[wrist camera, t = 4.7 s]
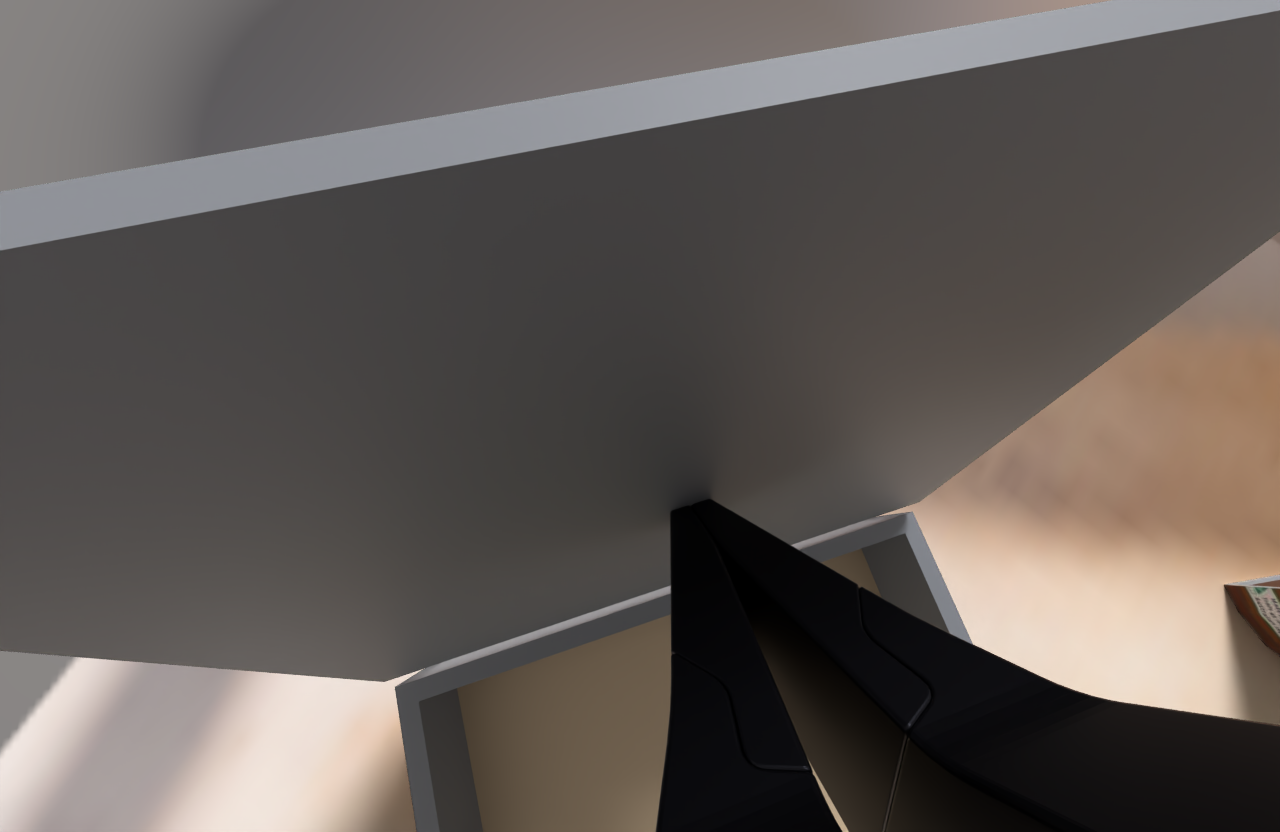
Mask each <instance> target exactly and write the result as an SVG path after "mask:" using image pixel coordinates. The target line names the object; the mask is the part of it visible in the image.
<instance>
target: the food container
mask: <svg viewBox="0 0 1280 832" xmlns="http://www.w3.org/2000/svg"><path fill="white" fill-rule="evenodd" d="M1224 586H1225V588H1226V589H1227V591H1228V593H1229V595H1230V597H1231V599H1232V601H1233V602H1234V604H1235V606H1236V608H1237V610H1238V612H1239V613H1240V614H1241V615H1242V617H1243V618H1244V619H1245V620H1246V622H1247V623H1248V624H1249V625H1250V627H1251V628H1252V629H1253V630H1254V631H1255V633H1256V634H1257V635H1258V636H1259V638H1260V639H1261V640H1262V641H1263V642H1264V644H1265V645H1266V646H1267V647H1269V648H1270V649H1271V650H1272V651H1274V652H1275V653H1276V654H1277V655H1279V656H1280V575H1275V576H1269V577H1264V578H1258V579H1253V580H1247V581H1242V582H1236V583H1231V584H1225V585H1224Z"/></svg>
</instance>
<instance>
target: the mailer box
mask: <svg viewBox="0 0 1280 832" xmlns="http://www.w3.org/2000/svg"><path fill="white" fill-rule="evenodd" d="M791 546H793V547H795V548H797V549H798V550H800V551H802V552H803V553H805V554H807V555H809V556H810V557H812V558H814V559H815V560H817V561H819V562H821V563H822V564H824V565H826V566H827V567H829V568H831V569H833V570H834V571H836V572H838V573H840V574H841V575H843V576H845V577H846V578H848V579H850V580H852V581H853V582H855V583H857V584H858V586H859V588H860V587H864V588H866V589H867V590H869V591H871V592H873V593H874V594H876V595H878V596H879V597H881V598H883V599H885V600H887V601H888V602H890V603H892V604H894V605H896V606H897V607H899V608H901V609H903V610H905V611H906V612H908V613H910V614H912V615H914V616H916V617H918V618H920V619H922V620H924V621H926V622H928V623H930V624H932V625H934V626H936V627H938V628H940V629H942V630H944V631H946V632H948V633H950V634H952V635H954V636H956V637H958V638H960V639H963V640H965V641H967V642H969V643H971V644H972V641H971V639H970V637H969V635H968V633H967V630H966V628H965V626H964V624H963V622H962V619H961V617H960V615H959V613H958V611H957V608H956V606H955V604H954V602H953V600H952V597H951V595H950V593H949V591H948V589H947V586H946V584H945V582H944V580H943V578H942V575H941V573H940V571H939V569H938V567H937V564H936V562H935V560H934V558H933V555H932V553H931V551H930V549H929V547H928V544H927V542H926V540H925V538H924V536H923V533H922V531H921V529H920V527H919V525H918V522H917V520H916V518H915V516H914V514H913V512H907V513H899V514H892V515H885V516H878V517H873V518H870V519H867V520H864V521H861V522H858V523H855V524H852V525H849V526H846V527H843V528H840V529H837V530H834V531H831V532H828V533H825V534H822V535H819V536H816V537H813V538H810V539H807V540H804V541H802V542H799V543H796V544H793V545H791ZM671 655H672V654H671V586H668V587H665V588H662V589H659V590H656V591H653V592H650V593H647V594H644V595H641V596H638V597H635V598H632V599H629V600H626V601H623V602H620V603H617V604H614V605H611V606H608V607H605V608H602V609H599V610H596V611H593V612H590V613H587V614H584V615H581V616H579V617H576V618H573V619H570V620H567V621H564V622H561V623H558V624H555V625H552V626H549V627H546V628H543V629H540V630H537V631H534V632H531V633H528V634H525V635H522V636H519V637H516V638H513V639H510V640H507V641H504V642H501V643H498V644H495V645H492V646H489V647H486V648H483V649H480V650H477V651H474V652H471V653H468V654H466V655H463V656H460V657H457V658H454V659H451V660H448V661H445V662H442V663H439V664H436V665H433V666H430V667H427V668H425V669H423V670H422V671H420V672H418V673H417V674H415V675H414V676H412V677H410V678H409V679H407V680H406V681H404V682H402V683H401V684H399V685H397V686H396V687H395V691H396V698H397V705H398V711H399V718H400V724H401V731H402V738H403V744H404V751H405V757H406V764H407V771H408V777H409V784H410V790H411V797H412V804H413V810H414V817H415V823H416V830H417V832H655V831H656V824H657V816H658V808H659V800H660V792H661V784H662V777H663V769H664V761H665V753H666V745H667V735H668V725H669V714H670V693H671ZM808 761H809V760H808ZM809 763H810V762H809ZM810 765H811V764H810ZM811 768H812V771H813V775H814V776H815V778H816V780H817V782H818V784H819V787H820V789H821V791H822V793H823V795H824V798H825V800H826V802H827V804H828V806H829V808H830V810H831V812H832V814H833V816H834V818H835V819H836V821H837V823H838V825H839V826H840V828H841V830H842V831H843V832H849V831H848V829H847V828H846V826H845V824H844V822H843V821H842V819H841V817H840V815H839V813H838V812H837V810H836V808H835V806H834V805H833V803H832V801H831V799H830V797H829V796H828V794H827V792H826V790H825V789H824V787H823V785H822V783H821V781H820V780H819V778H818V776H817V774H816V773H815V771H814V769H813V767H812V766H811Z"/></svg>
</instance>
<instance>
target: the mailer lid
mask: <svg viewBox="0 0 1280 832" xmlns="http://www.w3.org/2000/svg"><path fill="white" fill-rule="evenodd" d="M1278 232H1280V0H1112V1H1106V2H1099V3H1094V4H1088V5H1083V6H1076V7H1071V8H1065V9H1059V10H1053V11H1047V12H1041V13H1035V14H1030V15H1024V16H1018V17H1013V18H1007V19H1001V20H995V21H989V22H983V23H978V24H972V25H966V26H960V27H954V28H948V29H943V30H937V31H931V32H925V33H920V34H913V35H908V36H902V37H896V38H891V39H884V40H879V41H873V42H868V43H861V44H856V45H849V46H844V47H838V48H832V49H826V50H820V51H815V52H809V53H803V54H797V55H791V56H786V57H780V58H774V59H768V60H762V61H757V62H751V63H745V64H739V65H733V66H727V67H722V68H716V69H711V70H704V71H698V72H693V73H687V74H681V75H675V76H669V77H664V78H658V79H652V80H647V81H640V82H635V83H629V84H623V85H617V86H612V87H606V88H600V89H594V90H588V91H583V92H576V93H571V94H565V95H559V96H553V97H547V98H541V99H536V100H530V101H524V102H518V103H512V104H507V105H501V106H495V107H490V108H483V109H478V110H472V111H466V112H460V113H455V114H448V115H443V116H437V117H431V118H425V119H419V120H414V121H408V122H402V123H396V124H391V125H385V126H379V127H373V128H367V129H361V130H355V131H350V132H344V133H338V134H332V135H326V136H321V137H315V138H309V139H303V140H297V141H292V142H286V143H280V144H275V145H269V146H263V147H257V148H251V149H245V150H239V151H233V152H228V153H222V154H216V155H210V156H204V157H199V158H193V159H187V160H181V161H176V162H169V163H164V164H158V165H152V166H146V167H141V168H135V169H129V170H123V171H117V172H112V173H106V174H100V175H94V176H89V177H82V178H76V179H71V180H66V181H59V182H54V183H47V184H42V185H36V186H30V187H25V188H18V189H13V190H7V191H1V192H0V651H10V652H22V653H34V654H47V655H59V656H71V657H84V658H96V659H108V660H121V661H133V662H145V663H158V664H170V665H182V666H195V667H207V668H219V669H232V670H244V671H256V672H269V673H281V674H293V675H306V676H318V677H330V678H343V679H355V680H367V681H380V682H385V681H388V680H391V679H394V678H397V677H400V676H403V675H406V674H409V673H412V672H415V671H418V670H421V669H424V668H427V667H430V666H433V665H436V664H439V663H442V662H445V661H448V660H451V659H454V658H457V657H460V656H463V655H466V654H468V653H471V652H474V651H477V650H480V649H483V648H486V647H489V646H492V645H495V644H498V643H501V642H504V641H507V640H510V639H513V638H516V637H519V636H522V635H525V634H528V633H531V632H534V631H537V630H540V629H543V628H546V627H549V626H552V625H555V624H558V623H561V622H564V621H567V620H570V619H573V618H576V617H579V616H581V615H584V614H587V613H590V612H593V611H596V610H599V609H602V608H605V607H608V606H611V605H614V604H617V603H620V602H623V601H626V600H629V599H632V598H635V597H638V596H641V595H644V594H647V593H650V592H653V591H656V590H659V589H662V588H665V587H668V586H671V580H670V512H671V511H672V510H675V509H678V508H681V507H684V506H688V505H689V506H691V505H692V504H694V503H697V502H700V501H704V500H707V499H712V500H714V501H716V502H717V503H719V504H721V505H723V506H724V507H726V508H728V509H729V510H731V511H733V512H735V513H736V514H738V515H740V516H741V517H743V518H745V519H747V520H748V521H750V522H752V523H754V524H755V525H757V526H759V527H760V528H762V529H764V530H766V531H767V532H769V533H771V534H772V535H774V536H776V537H778V538H779V539H781V540H783V541H784V542H786V543H788V544H790V545H793V544H796V543H799V542H802V541H804V540H807V539H810V538H813V537H816V536H819V535H822V534H825V533H828V532H831V531H834V530H837V529H840V528H843V527H846V526H849V525H852V524H855V523H858V522H861V521H864V520H867V519H870V518H873V517H876V516H879V515H882V514H885V513H888V512H891V511H894V510H897V509H900V508H903V507H906V506H909V505H912V504H915V503H917V502H920V501H921V500H923V499H924V498H925V497H927V496H928V495H929V494H931V493H932V492H933V491H935V490H936V489H937V488H939V487H940V486H941V485H943V484H944V483H945V482H947V481H948V480H949V479H951V478H952V477H953V476H955V475H956V474H957V473H959V472H960V471H961V470H963V469H964V468H965V467H967V466H968V465H969V464H971V463H972V462H973V461H975V460H976V459H977V458H979V457H980V456H981V455H983V454H984V453H985V452H987V451H988V450H989V449H991V448H992V447H993V446H995V445H996V444H997V443H999V442H1000V441H1001V440H1003V439H1004V438H1005V437H1007V436H1008V435H1009V434H1011V433H1012V432H1013V431H1015V430H1016V429H1017V428H1019V427H1020V426H1021V425H1023V424H1024V423H1025V422H1027V421H1028V420H1029V419H1031V418H1032V417H1033V416H1035V415H1036V414H1037V413H1039V412H1040V411H1041V410H1043V409H1044V408H1045V407H1047V406H1048V405H1049V404H1051V403H1052V402H1053V401H1055V400H1056V399H1057V398H1059V397H1060V396H1061V395H1063V394H1064V393H1065V392H1067V391H1068V390H1069V389H1071V388H1072V387H1073V386H1075V385H1076V384H1077V383H1079V382H1080V381H1081V380H1083V379H1084V378H1085V377H1087V376H1088V375H1089V374H1091V373H1092V372H1093V371H1095V370H1096V369H1097V368H1099V367H1100V366H1101V365H1103V364H1104V363H1105V362H1107V361H1108V360H1109V359H1111V358H1112V357H1113V356H1115V355H1116V354H1117V353H1119V352H1120V351H1121V350H1123V349H1124V348H1125V347H1127V346H1128V345H1129V344H1131V343H1132V342H1133V341H1135V340H1136V339H1137V338H1139V337H1140V336H1141V335H1143V334H1144V333H1145V332H1147V331H1148V330H1149V329H1151V328H1152V327H1153V326H1155V325H1156V324H1157V323H1159V322H1160V321H1161V320H1163V319H1164V318H1165V317H1167V316H1168V315H1169V314H1171V313H1172V312H1173V311H1175V310H1176V309H1177V308H1179V307H1180V306H1181V305H1183V304H1184V303H1185V302H1186V301H1188V300H1189V299H1190V298H1192V297H1193V296H1194V295H1196V294H1197V293H1198V292H1200V291H1201V290H1202V289H1204V288H1205V287H1206V286H1208V285H1209V284H1210V283H1212V282H1213V281H1214V280H1216V279H1217V278H1218V277H1220V276H1221V275H1222V274H1224V273H1225V272H1226V271H1228V270H1229V269H1230V268H1232V267H1233V266H1234V265H1236V264H1237V263H1238V262H1240V261H1241V260H1242V259H1244V258H1245V257H1246V256H1248V255H1249V254H1250V253H1252V252H1253V251H1254V250H1256V249H1257V248H1258V247H1260V246H1261V245H1262V244H1264V243H1265V242H1266V241H1268V240H1269V239H1270V238H1272V237H1273V236H1274V235H1276V234H1277V233H1278Z"/></svg>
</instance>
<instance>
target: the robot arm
mask: <svg viewBox="0 0 1280 832" xmlns="http://www.w3.org/2000/svg"><path fill="white" fill-rule="evenodd" d="M670 580H671V654H672V655H671V693H670V714H669V725H668V735H667V745H666V753H665V761H664V769H663V777H662V784H661V792H660V800H659V808H658V816H657V824H656V831H655V832H843V831H842V830H841V828H840V826H839V825H838V823H837V821H836V819H835V818H834V816H833V814H832V812H831V810H830V808H829V806H828V804H827V802H826V800H825V798H824V795H823V793H822V791H821V789H820V787H819V784H818V782H817V780H816V778H815V776H814V775H813V771H812V768H811V766H812V767H813V769H814V771H815V773H816V774H817V776H818V778H819V780H820V781H821V783H822V785H823V787H824V789H825V790H826V792H827V794H828V796H829V797H830V799H831V801H832V803H833V805H834V806H835V808H836V810H837V812H838V813H839V815H840V817H841V819H842V821H843V822H844V824H845V826H846V828H847V829H848V831H849V832H1280V725H1274V724H1267V723H1260V722H1253V721H1247V720H1240V719H1233V718H1226V717H1219V716H1213V715H1206V714H1199V713H1192V712H1185V711H1178V710H1172V709H1165V708H1158V707H1151V706H1144V705H1137V704H1131V703H1124V702H1118V701H1111V700H1107V699H1103V698H1099V697H1095V696H1091V695H1088V694H1085V693H1081V692H1078V691H1075V690H1072V689H1070V688H1067V687H1064V686H1062V685H1059V684H1056V683H1054V682H1052V681H1050V680H1047V679H1045V678H1043V677H1041V676H1038V675H1036V674H1034V673H1032V672H1030V671H1028V670H1026V669H1024V668H1022V667H1019V666H1017V665H1015V664H1013V663H1011V662H1009V661H1007V660H1005V659H1003V658H1001V657H998V656H996V655H994V654H992V653H990V652H988V651H986V650H984V649H982V648H979V647H977V646H975V645H973V644H971V643H969V642H967V641H965V640H963V639H960V638H958V637H956V636H954V635H952V634H950V633H948V632H946V631H944V630H942V629H940V628H938V627H936V626H934V625H932V624H930V623H928V622H926V621H924V620H922V619H920V618H918V617H916V616H914V615H912V614H910V613H908V612H906V611H905V610H903V609H901V608H899V607H897V606H896V605H894V604H892V603H890V602H888V601H887V600H885V599H883V598H881V597H879V596H878V595H876V594H874V593H873V592H871V591H869V590H867V589H866V588H864V587H860V588H859V586H858V584H857V583H855V582H853V581H852V580H850V579H848V578H846V577H845V576H843V575H841V574H840V573H838V572H836V571H834V570H833V569H831V568H829V567H827V566H826V565H824V564H822V563H821V562H819V561H817V560H815V559H814V558H812V557H810V556H809V555H807V554H805V553H803V552H802V551H800V550H798V549H797V548H795V547H793V546H791V545H790V544H788V543H786V542H784V541H783V540H781V539H779V538H778V537H776V536H774V535H772V534H771V533H769V532H767V531H766V530H764V529H762V528H760V527H759V526H757V525H755V524H754V523H752V522H750V521H748V520H747V519H745V518H743V517H741V516H740V515H738V514H736V513H735V512H733V511H731V510H729V509H728V508H726V507H724V506H723V505H721V504H719V503H717V502H716V501H714V500H712V499H707V500H704V501H700V502H697V503H694V504H692V505H691V506H689V505H688V506H684V507H681V508H678V509H675V510H672V511H671V512H670ZM808 760H809V761H808ZM809 762H810V763H809ZM810 764H811V765H810Z"/></svg>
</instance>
